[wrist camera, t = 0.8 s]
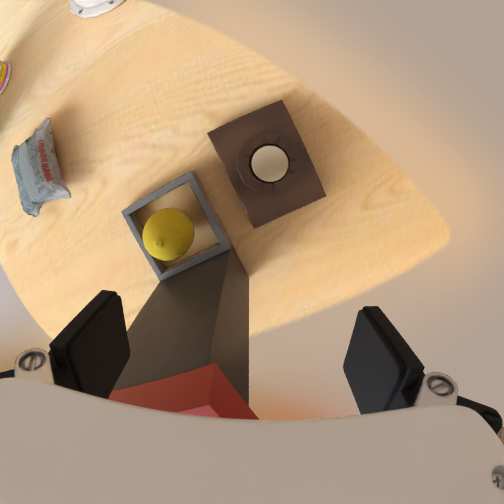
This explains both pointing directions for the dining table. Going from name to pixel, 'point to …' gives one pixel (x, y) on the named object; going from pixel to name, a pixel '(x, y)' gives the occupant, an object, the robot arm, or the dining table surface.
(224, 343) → the stand
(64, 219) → the dining table surface
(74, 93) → the dining table surface
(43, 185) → the packaged food
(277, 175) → the button
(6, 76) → the supplement bottle
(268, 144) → the block
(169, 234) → the lemon
